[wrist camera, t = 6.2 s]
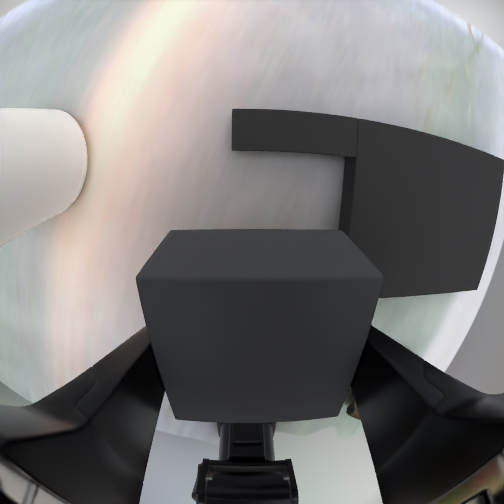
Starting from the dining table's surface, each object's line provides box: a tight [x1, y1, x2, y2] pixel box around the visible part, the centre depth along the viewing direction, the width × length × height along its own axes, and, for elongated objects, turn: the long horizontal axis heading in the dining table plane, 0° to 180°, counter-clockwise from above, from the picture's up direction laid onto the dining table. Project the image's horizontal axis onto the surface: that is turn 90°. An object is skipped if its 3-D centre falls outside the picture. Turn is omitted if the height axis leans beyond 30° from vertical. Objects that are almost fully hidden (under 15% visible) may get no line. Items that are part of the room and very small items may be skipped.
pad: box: [136, 229, 383, 423], centre depth 9 cm, size 6×6×4 cm
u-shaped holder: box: [232, 109, 504, 298], centre depth 17 cm, size 12×22×2 cm, turn 89°
